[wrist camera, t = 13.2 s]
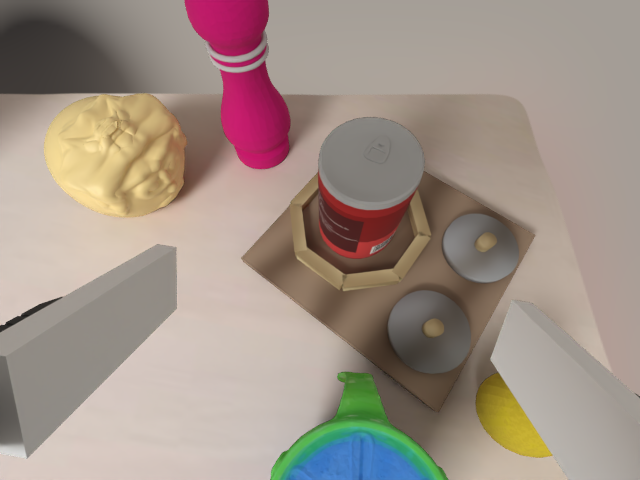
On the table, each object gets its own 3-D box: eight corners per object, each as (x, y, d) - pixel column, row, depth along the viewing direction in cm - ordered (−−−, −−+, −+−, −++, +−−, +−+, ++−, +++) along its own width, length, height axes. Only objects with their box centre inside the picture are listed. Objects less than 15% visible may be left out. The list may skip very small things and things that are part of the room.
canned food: (398, 200, 34) (430, 124, 24) (387, 269, 31) (419, 216, 21) (328, 186, 35) (331, 107, 25) (311, 253, 32) (306, 193, 22)
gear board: (243, 261, 32) (234, 248, 29) (356, 138, 39) (359, 116, 36) (434, 411, 27) (449, 415, 24) (529, 239, 33) (551, 224, 30)
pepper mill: (254, 184, 36) (186, -17, 18) (221, 144, 39) (131, -70, 20) (305, 152, 38) (290, -61, 20) (270, 116, 40) (228, -104, 22)
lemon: (482, 358, 29) (537, 350, 21) (539, 405, 27) (619, 415, 20) (447, 408, 27) (494, 419, 20) (505, 462, 26) (579, 495, 18)
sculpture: (157, 249, 33) (87, 194, 23) (70, 204, 35) (-28, 136, 25) (219, 168, 37) (182, 91, 27) (137, 132, 39) (76, 49, 30)
